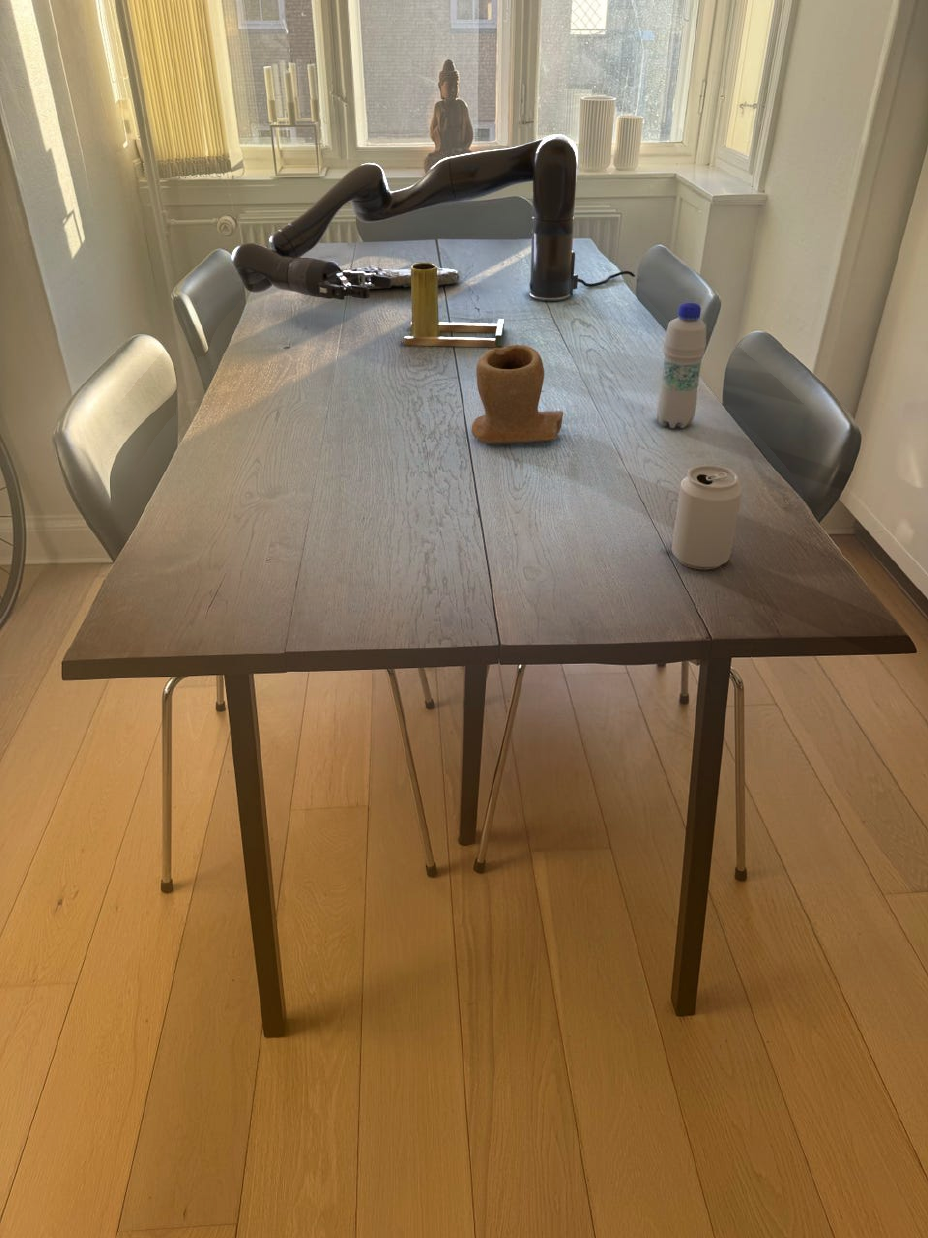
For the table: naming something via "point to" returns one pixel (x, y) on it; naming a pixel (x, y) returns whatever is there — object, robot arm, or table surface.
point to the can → (706, 516)
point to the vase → (424, 300)
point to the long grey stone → (404, 276)
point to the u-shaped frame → (461, 341)
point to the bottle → (681, 367)
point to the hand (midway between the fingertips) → (379, 287)
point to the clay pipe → (513, 398)
